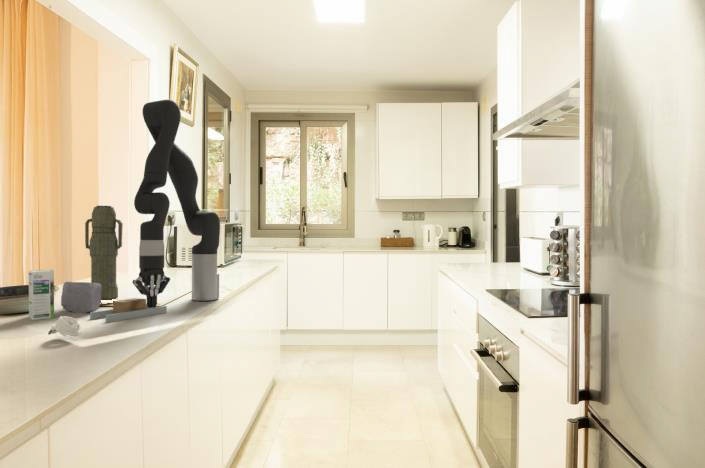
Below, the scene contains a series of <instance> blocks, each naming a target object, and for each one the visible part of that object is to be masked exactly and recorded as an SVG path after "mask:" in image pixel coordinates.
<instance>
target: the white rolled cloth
mask: <svg viewBox="0 0 705 468" xmlns="http://www.w3.org/2000/svg"><path fill="white" fill-rule="evenodd" d="M81 329H82V327H81V325H80V323H79V321H78V319H76V318H74V317H71V316H68V315H66V316H65V315H64V316H62V315H61V316H60V317H58V319H57V320H56V321H55V324H54V323H53V324H52V326H51V328H50V330H49V331H48V333H47V334H48V335H49V336H50V335H52V334H56V333H59V334H60V335H61V336H63V337H65V336H66V335H67V336H70V337H77V336H79V335H80V334H81Z"/></svg>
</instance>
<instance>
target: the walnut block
mask: <svg viewBox="0 0 705 468" xmlns="http://www.w3.org/2000/svg"><path fill="white" fill-rule="evenodd" d="M146 304H147V298H138V297H132V298H125V299H120V300H117V301H113V303H112V309H113V314H116V313H122V312H129V311H135V310H142V309H146Z"/></svg>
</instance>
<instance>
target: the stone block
mask: <svg viewBox="0 0 705 468" xmlns="http://www.w3.org/2000/svg"><path fill="white" fill-rule="evenodd" d="M100 303H101V284H99V283H91V282H83V281H81V282H80V281H79V282H77V281H65V282H63V285H62V291H61V296H60V304H61V307H62V309H63V310H65V311H69V312H72V313H84V314H85V313H86V314H87V313H90V312H97V310H98V309H99V308H100V305H101V304H100Z"/></svg>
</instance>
